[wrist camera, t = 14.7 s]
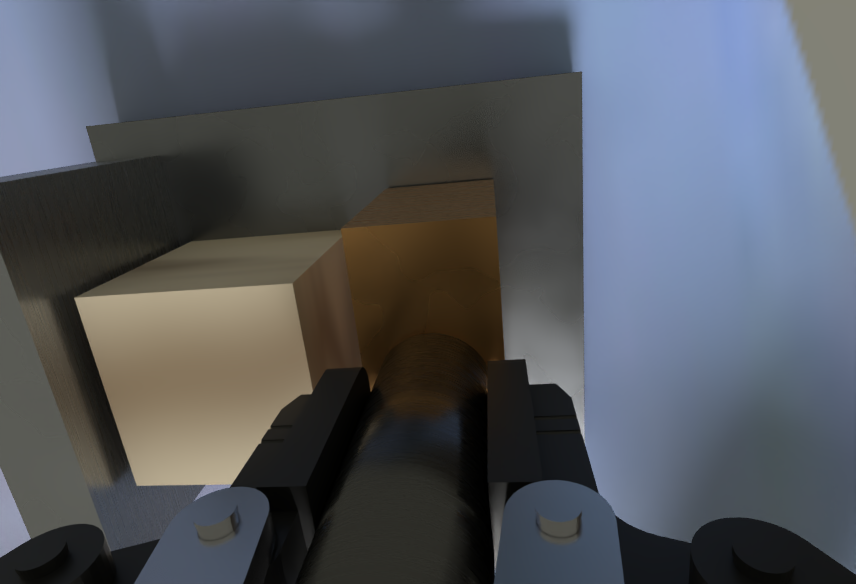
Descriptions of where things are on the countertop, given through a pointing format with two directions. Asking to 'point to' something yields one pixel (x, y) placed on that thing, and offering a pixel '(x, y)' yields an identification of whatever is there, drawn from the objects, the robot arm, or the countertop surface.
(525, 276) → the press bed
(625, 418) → the countertop surface
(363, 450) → the press ram
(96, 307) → the block
